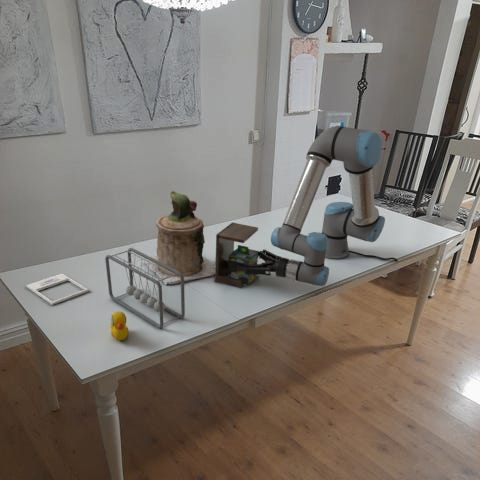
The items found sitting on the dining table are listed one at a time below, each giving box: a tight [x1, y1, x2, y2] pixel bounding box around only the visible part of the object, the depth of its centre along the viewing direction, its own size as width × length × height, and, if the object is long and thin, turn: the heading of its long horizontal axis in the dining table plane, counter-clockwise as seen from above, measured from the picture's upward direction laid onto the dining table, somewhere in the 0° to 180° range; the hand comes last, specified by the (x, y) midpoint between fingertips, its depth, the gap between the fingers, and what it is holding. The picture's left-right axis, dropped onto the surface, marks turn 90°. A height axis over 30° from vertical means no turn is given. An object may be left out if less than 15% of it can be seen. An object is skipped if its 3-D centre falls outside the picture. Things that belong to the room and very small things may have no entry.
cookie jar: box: [143, 190, 216, 286], centre depth 186 cm, size 25×25×32 cm
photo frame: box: [26, 273, 89, 306], centre depth 174 cm, size 15×1×18 cm
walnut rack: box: [214, 222, 259, 289], centre depth 185 cm, size 11×15×20 cm
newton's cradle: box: [104, 247, 186, 329], centre depth 161 cm, size 30×10×18 cm, turn 48°
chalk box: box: [227, 244, 259, 286], centre depth 185 cm, size 9×9×15 cm
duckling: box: [110, 311, 130, 341], centre depth 147 cm, size 11×5×10 cm, turn 20°
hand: (237, 257), depth 185 cm, fingers open, 13 cm apart
